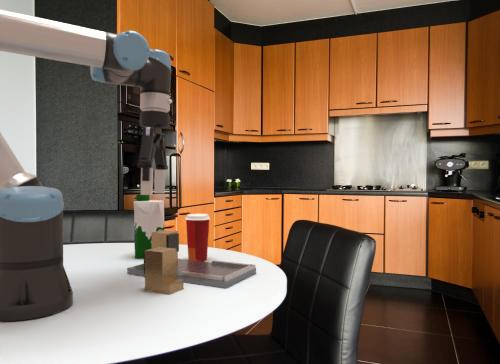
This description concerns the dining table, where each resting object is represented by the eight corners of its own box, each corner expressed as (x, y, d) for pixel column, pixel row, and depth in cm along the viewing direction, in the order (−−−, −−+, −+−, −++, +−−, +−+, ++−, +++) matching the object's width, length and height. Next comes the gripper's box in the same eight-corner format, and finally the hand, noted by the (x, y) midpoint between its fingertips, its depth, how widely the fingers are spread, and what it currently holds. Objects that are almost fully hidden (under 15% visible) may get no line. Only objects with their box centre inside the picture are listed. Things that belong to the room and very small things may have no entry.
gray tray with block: (225, 288, 91) (225, 242, 91) (127, 273, 104) (127, 234, 104) (256, 273, 105) (256, 233, 105) (166, 262, 118) (166, 227, 118)
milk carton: (139, 253, 132) (139, 193, 131) (166, 253, 131) (166, 193, 131) (131, 259, 123) (131, 195, 123) (160, 259, 123) (160, 195, 122)
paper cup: (212, 257, 125) (212, 213, 125) (207, 262, 118) (207, 216, 117) (188, 257, 126) (188, 213, 126) (181, 262, 118) (181, 215, 118)
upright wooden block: (169, 294, 86) (169, 253, 86) (142, 289, 89) (142, 250, 89) (183, 288, 90) (183, 249, 90) (157, 284, 94) (157, 246, 94)
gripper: (158, 102, 90) (156, 195, 90) (178, 119, 115) (176, 192, 115) (125, 102, 90) (123, 195, 90) (152, 119, 115) (151, 192, 115)
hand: (153, 194), depth 102 cm, fingers open, 13 cm apart
